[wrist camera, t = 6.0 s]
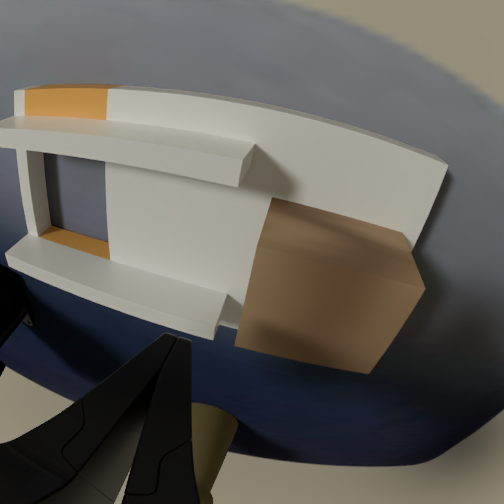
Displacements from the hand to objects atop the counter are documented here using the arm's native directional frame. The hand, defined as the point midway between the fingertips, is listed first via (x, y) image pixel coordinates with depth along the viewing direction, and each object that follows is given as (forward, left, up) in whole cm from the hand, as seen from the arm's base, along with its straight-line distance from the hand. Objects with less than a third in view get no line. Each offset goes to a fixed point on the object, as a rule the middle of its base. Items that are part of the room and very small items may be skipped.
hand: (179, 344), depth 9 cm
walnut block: (0, -4, -7) cm, 8 cm away
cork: (-22, 0, -8) cm, 24 cm away
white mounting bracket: (0, +3, -8) cm, 9 cm away
